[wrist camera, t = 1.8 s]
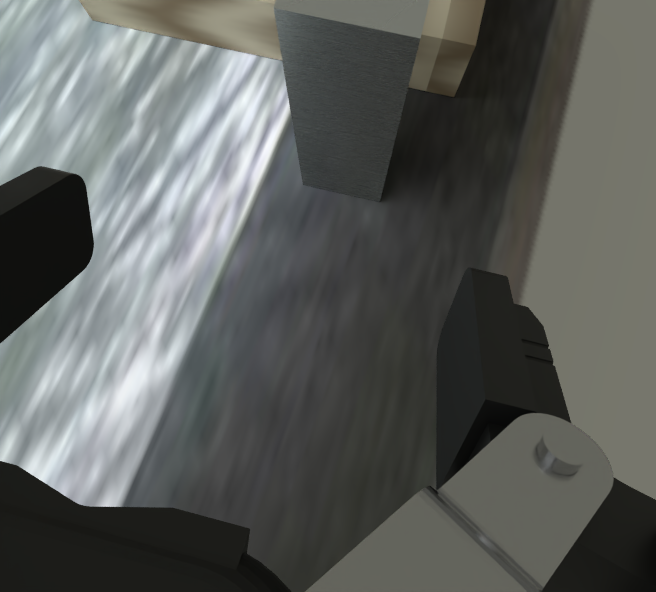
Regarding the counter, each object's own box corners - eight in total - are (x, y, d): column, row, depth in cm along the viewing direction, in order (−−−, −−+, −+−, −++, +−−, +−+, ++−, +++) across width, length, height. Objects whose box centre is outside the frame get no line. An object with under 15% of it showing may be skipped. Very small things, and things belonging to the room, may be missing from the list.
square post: (302, 184, 25) (273, 7, 13) (321, 114, 26) (310, -116, 14) (379, 202, 25) (420, 38, 13) (396, 130, 25) (450, -88, 14)
